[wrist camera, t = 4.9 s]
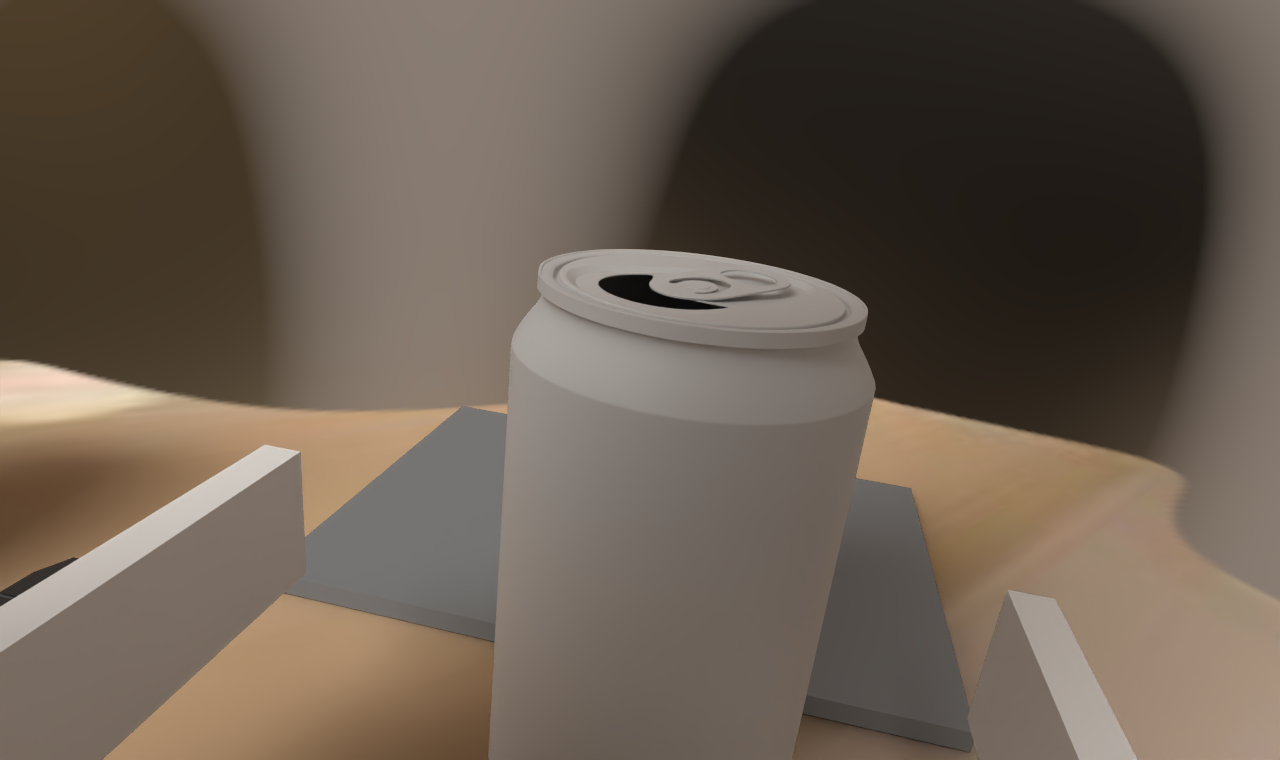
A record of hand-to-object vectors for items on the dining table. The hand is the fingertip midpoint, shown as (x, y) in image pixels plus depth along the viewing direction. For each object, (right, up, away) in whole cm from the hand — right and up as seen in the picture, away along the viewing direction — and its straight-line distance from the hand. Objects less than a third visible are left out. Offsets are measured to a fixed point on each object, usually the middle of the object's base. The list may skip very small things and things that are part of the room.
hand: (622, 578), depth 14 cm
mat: (0, -2, +14) cm, 14 cm away
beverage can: (0, -6, +3) cm, 7 cm away
